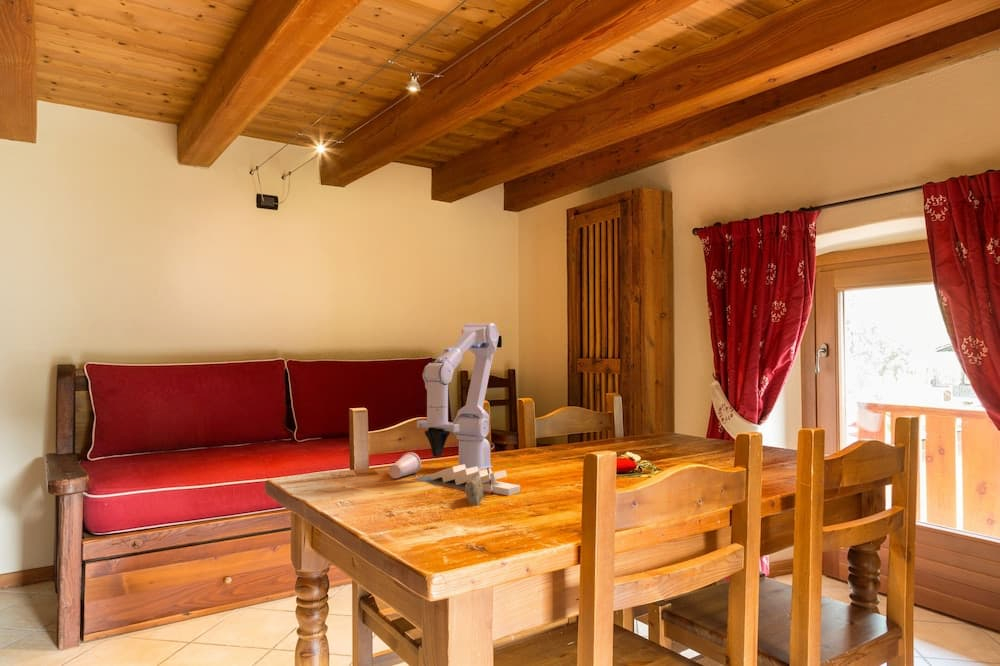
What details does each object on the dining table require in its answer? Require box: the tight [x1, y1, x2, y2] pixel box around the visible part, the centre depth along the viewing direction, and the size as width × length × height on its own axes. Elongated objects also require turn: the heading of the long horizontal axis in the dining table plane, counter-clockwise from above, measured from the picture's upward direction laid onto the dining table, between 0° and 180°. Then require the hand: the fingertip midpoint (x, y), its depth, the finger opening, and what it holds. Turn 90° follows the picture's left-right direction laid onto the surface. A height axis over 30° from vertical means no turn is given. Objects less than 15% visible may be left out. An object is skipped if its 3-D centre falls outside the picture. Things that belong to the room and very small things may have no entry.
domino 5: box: [482, 480, 521, 497], centre depth 160 cm, size 2×5×9 cm
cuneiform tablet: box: [464, 468, 494, 507], centre depth 152 cm, size 7×4×12 cm
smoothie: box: [388, 451, 422, 479], centre depth 180 cm, size 6×6×14 cm
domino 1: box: [429, 464, 466, 480], centre depth 172 cm, size 2×5×9 cm
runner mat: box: [411, 474, 489, 495], centre depth 170 cm, size 10×26×1 cm, turn 50°
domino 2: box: [442, 466, 480, 483], centre depth 169 cm, size 2×5×9 cm
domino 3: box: [455, 468, 493, 485], centre depth 166 cm, size 2×5×9 cm
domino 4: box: [480, 469, 508, 483], centre depth 163 cm, size 2×5×9 cm
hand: (437, 456), depth 175 cm, fingers closed
